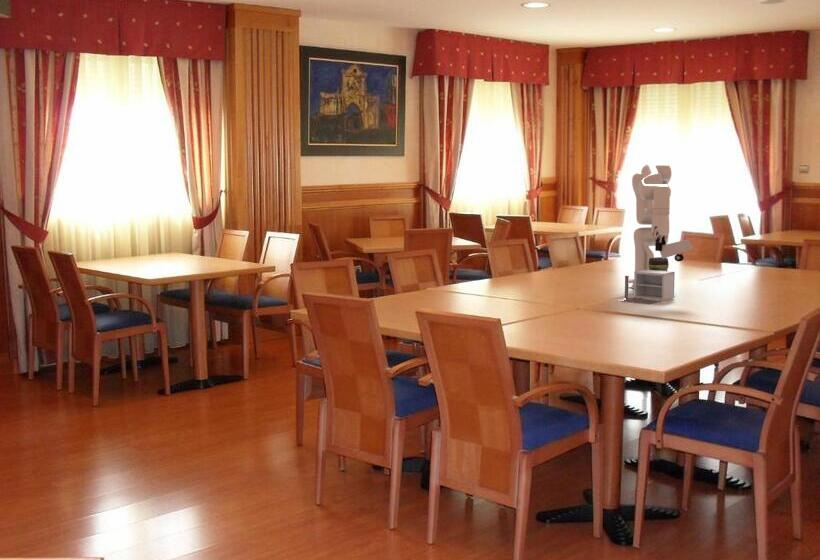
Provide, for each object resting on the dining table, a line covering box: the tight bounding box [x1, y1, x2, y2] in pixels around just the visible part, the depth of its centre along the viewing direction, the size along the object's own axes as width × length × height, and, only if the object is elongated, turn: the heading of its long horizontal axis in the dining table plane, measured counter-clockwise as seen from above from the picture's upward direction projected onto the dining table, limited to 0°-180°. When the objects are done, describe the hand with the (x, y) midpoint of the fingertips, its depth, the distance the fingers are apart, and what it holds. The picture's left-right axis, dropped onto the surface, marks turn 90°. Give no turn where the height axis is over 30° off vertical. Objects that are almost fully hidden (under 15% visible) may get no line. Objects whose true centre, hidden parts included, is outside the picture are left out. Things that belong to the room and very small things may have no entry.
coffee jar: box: [648, 256, 670, 271], centre depth 489 cm, size 10×8×19 cm
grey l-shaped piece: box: [624, 275, 662, 305], centre depth 468 cm, size 18×11×11 cm, turn 47°
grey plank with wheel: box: [659, 239, 695, 262], centre depth 463 cm, size 4×10×15 cm
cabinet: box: [633, 270, 675, 302], centre depth 477 cm, size 16×10×13 cm, turn 47°
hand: (660, 250), depth 467 cm, fingers closed on grey plank with wheel, 3 cm apart
